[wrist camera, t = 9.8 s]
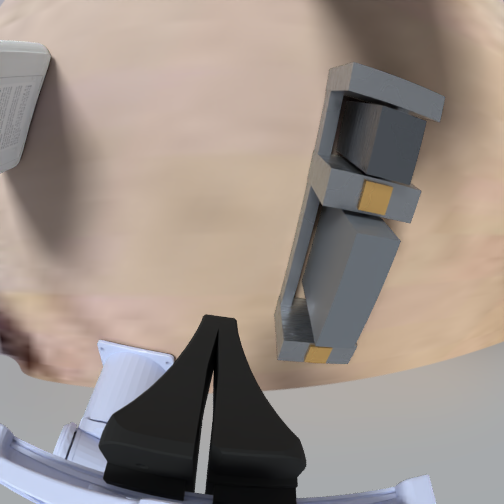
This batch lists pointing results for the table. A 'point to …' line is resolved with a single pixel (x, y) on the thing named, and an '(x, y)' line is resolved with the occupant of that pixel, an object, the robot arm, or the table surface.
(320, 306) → the panel
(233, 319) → the robot arm
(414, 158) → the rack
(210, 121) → the table surface
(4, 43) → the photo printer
